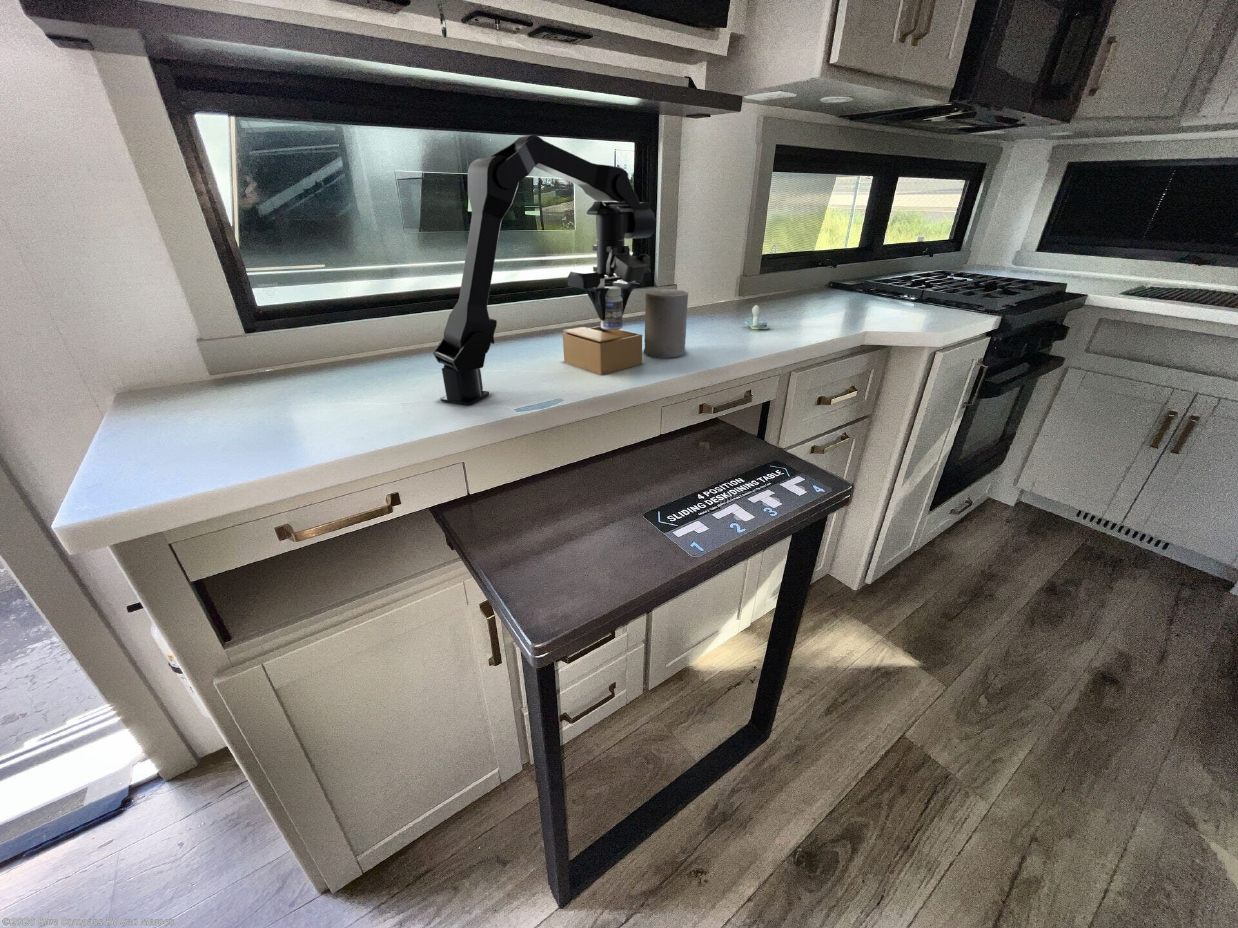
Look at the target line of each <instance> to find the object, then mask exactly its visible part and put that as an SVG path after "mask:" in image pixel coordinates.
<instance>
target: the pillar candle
mask: <svg viewBox="0 0 1238 928" xmlns="http://www.w3.org/2000/svg"><path fill="white" fill-rule="evenodd" d="M644 295H645V297H644V298H645V300H644V301H645V303H644V308H645V309H644V349H643V353H644V354H645V355H647V356H649V357H654V358H660V359H661V358H663V359H670V358H678V357H682V356H684V355H685V351H686V338H687V320H688V319H687V318H688V304H689V303H688V302H689V292H688V291H685V290H683V289H681V290H680V289H675V288H674V289H671V288H668V286H667V285H666V286H665V288H658V289H657V288H656V289H650V290H646V291H645V294H644Z"/></svg>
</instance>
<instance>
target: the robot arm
mask: <svg viewBox="0 0 1238 928" xmlns="http://www.w3.org/2000/svg"><path fill="white" fill-rule="evenodd" d="M534 168H536V169H538V170H540V171H543V172H546V173H548V174H550V175H553V176H555V177H557V178H559V179H563V180H564V181H567V182H570V183H572V184H574V185H577V186H578V187H579V188H581V189H582V191H583V192H584V193H585V194H586V195H587V196H589V197H590V198H592V199H593V200H595V201H593V203H592V205H591V206H590V207H589V208H588V209H587V210H586V215H588V216H595V230H596V231H595V233H596V236H595V238H596V239H595V240H596V241H595V242H596V244H592V251H593V252H596V265H595V266H592V271H591V270H584V269H583V270H573V271H569V274H568V275H567V286H568V287H571V288H576V289H581V290H584V291H585V293H586V294H587V296H588V299H590V302H591V303H592V305H593V307H594V309H595V312H596V314H597V316H598V317H599V320H600V321H601V320H605V295H606V293H607V292H608V290H609V288H607V287H608V286H605V285H606V283H605V282H612V287H620V288H621V295H620V297H622V299H623V311H622V317H623V315H624V313H625V310H626V307H627V304H628V301H629V298H630V295H631V293H632V292H633V291H634V290H635V289H636V288H637V287H639V286H640V285H641V283H643V282H651V281H652V271H651V256H650V255H648V254H647V253H642V254H641V253H640V254H638V256H637V255H635V256H633V255H632V254H631V253H630V252H631V249H630V245H627V244H626V243H625V242H626V241H625V239H626V240H630V239H648V238H650V237H652V236H653V235H654V233H655V231H656V228H657V220H656V216H655V213H654V212H653V210H652V209H651V208H650V202H649V201H640V200H639V198H638V195H637V194H636V191H635V189H634V187H633V185H632V183H631V180H630V178H629V173H628V171H627V170H625V169H624V168H622V167H618V166H613V165H608V164H601V163H600V164H599V163H593V162H590V161H589V160H587V159H584V158H582V157H580V156H578V155H576V154H574V153H571V152H569V151H567V150H564V149H563V148H561V147H559V146H557V145H555V144H552V143H551V142H548V141H546V140H543V138H542V137H540V136H539V135H536V134H531V135H525V136H524V135H523V136H519V137H518V138H516V140H514V141H513V142H512V143H510V144H509V145H507V146H505V147H504V148H502V149H500V150H499V151H497V152H495V153H493V154H492V155H490V156H488V157H478V158H476V159H475V160H473V161H472V162H471V163H470V164H469V166H468V170H467V196H468V201H469V204H470V209H471V219H470V227H469V233H468V239H467V245H466V252H465V258H464V266H463V271H462V276H461V277H462V278H461V283H460V290H459V298H458V301H456V304H455V305H454V307H453V308H452V310H451V312H450V313H449V314H448V317H447V321H446V324H445V327H444V330H443V337H442V338H441V340H440V341H439V343H438V344H437V346H436V347H435V348H434V350H433V352H432V355H433V356H434V358H435V360H436V361H437V362H438V364H442V365H443V367H442V368H441V373H442V379H443V385H444V390H445V395H443V396H441V397H440V398H439V401H440V402H445V403H452V404H457V405H463V406H470V405H472V404H474V403H476V402H478V401H480V400H481V399H484V398H485V397H487V396H489V395H490V391H489V390H484V386H483V379H482V372H481V369H482V368H484V366H485V360H486V355H487V354H488V352H489V351H490V348H491V345H494V344H495V332H496V329H497V324H498V323H497V322H498V321H497V320H496V319H494V318H490V315H489V311H488V303H489V297H490V291H491V284H492V279H493V272H494V267H495V261H496V255H497V248H498V244H499V243H498V242H499V237H500V231H501V225H502V222H503V219H504V217H505V216H506V214H507V212H508V211H509V209H510V208H511V206H512V205H513V202H514V199H515V196H516V193H517V191H518V188H519V183H520V182H522V181H523V180H524V179H525V178H526V177H527V176H529V175H531V172H532V171H533V170H534ZM637 281H638V282H637ZM640 282H641V283H640Z"/></svg>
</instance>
